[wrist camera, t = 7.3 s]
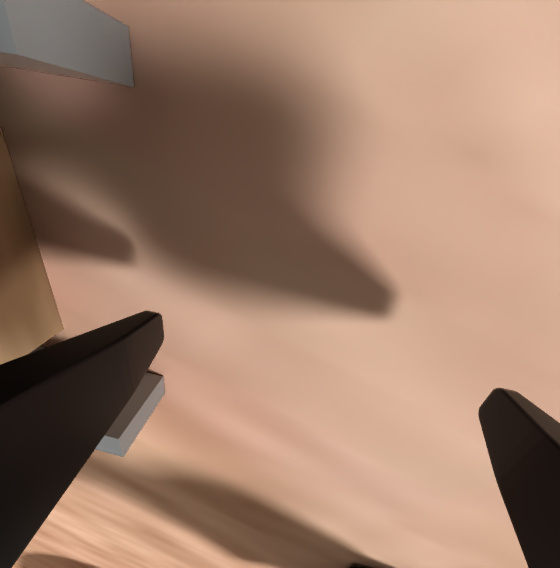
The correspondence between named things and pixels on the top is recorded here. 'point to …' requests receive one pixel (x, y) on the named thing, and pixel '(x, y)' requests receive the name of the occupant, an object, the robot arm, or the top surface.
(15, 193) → the wooden t-shaped block
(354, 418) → the top surface
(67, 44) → the corral
